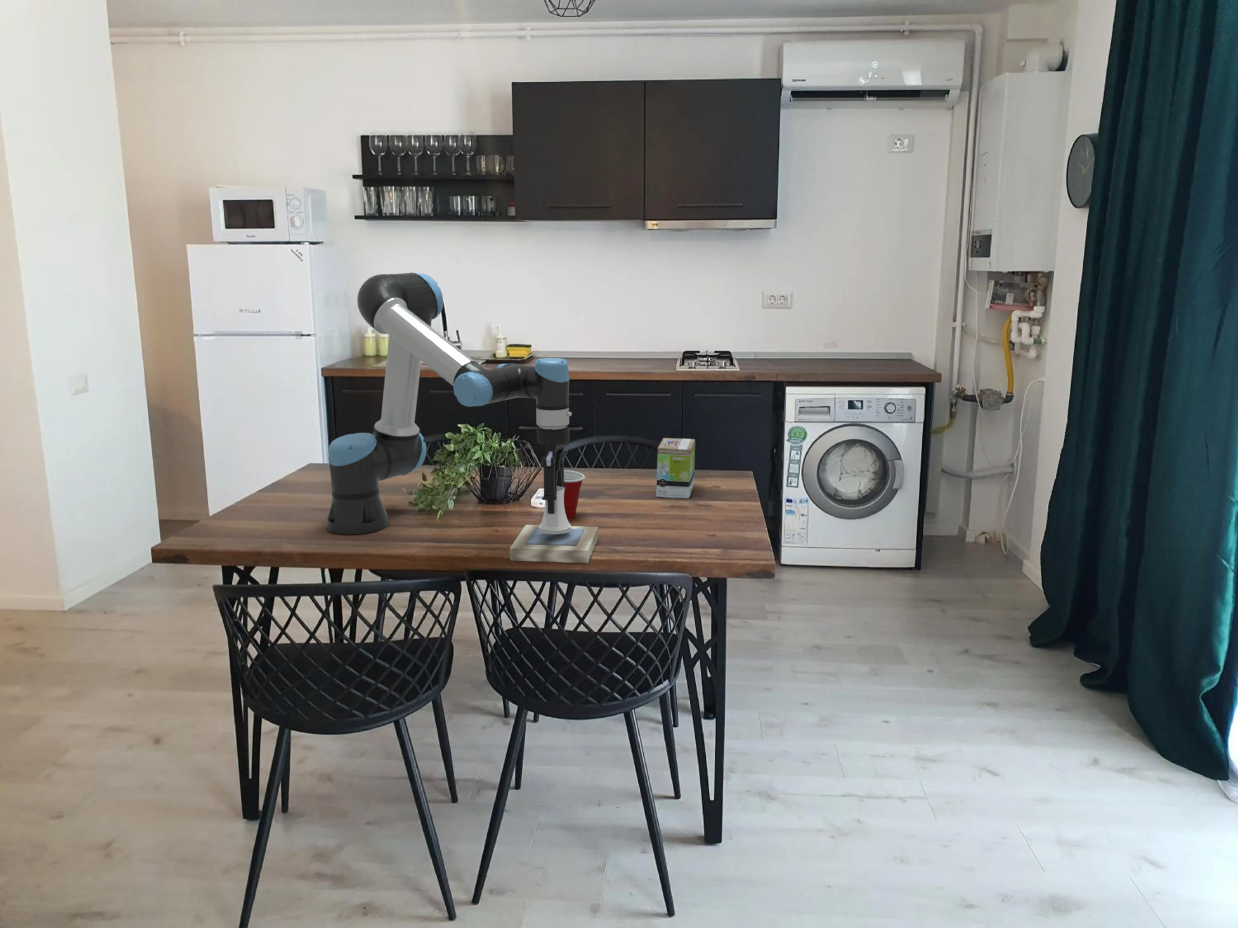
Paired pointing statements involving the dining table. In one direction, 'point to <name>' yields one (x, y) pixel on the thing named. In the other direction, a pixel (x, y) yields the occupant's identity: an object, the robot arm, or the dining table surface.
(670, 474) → the tea box
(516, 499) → the dining table surface
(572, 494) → the plastic cup
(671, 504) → the dining table surface
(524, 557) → the plinth
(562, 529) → the white flared tube
